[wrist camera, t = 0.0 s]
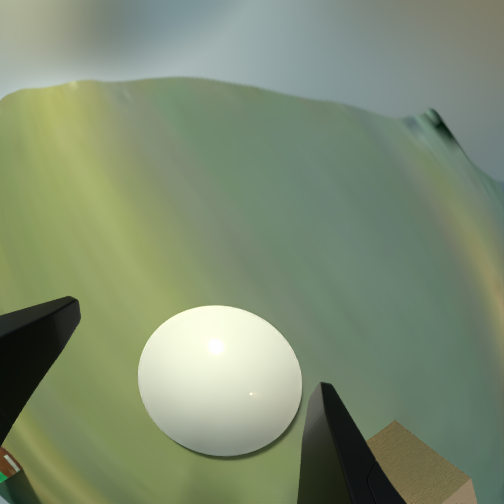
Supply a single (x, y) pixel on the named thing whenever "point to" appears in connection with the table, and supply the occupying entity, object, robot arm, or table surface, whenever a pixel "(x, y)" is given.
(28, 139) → the table surface
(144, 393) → the cream plate
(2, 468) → the food container
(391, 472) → the tan tall block
